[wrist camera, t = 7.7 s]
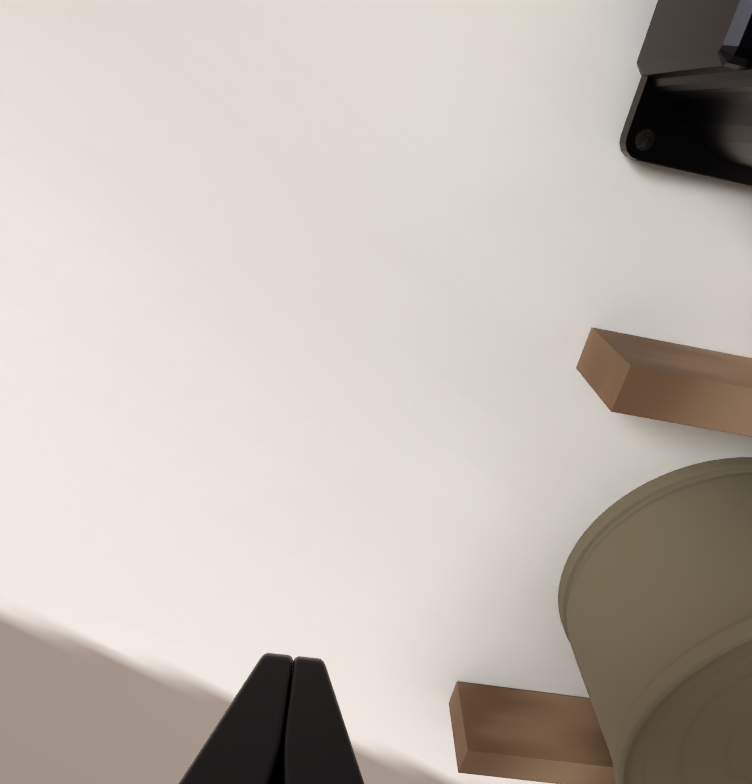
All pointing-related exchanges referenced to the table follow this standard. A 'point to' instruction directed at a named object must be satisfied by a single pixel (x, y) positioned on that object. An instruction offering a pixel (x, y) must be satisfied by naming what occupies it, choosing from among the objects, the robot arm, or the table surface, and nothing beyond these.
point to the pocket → (574, 714)
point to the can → (669, 625)
